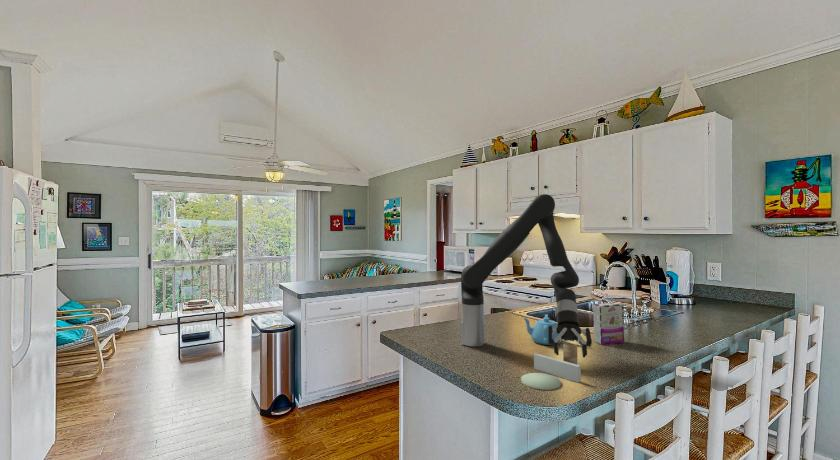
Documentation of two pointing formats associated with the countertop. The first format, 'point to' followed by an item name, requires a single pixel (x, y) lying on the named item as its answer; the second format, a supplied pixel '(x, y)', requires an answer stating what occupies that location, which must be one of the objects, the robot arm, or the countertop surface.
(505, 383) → the countertop surface
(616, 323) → the candy bar box
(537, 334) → the teapot
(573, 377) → the frosted wall
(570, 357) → the beech cylinder
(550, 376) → the sage mat
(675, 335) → the countertop surface
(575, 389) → the countertop surface
